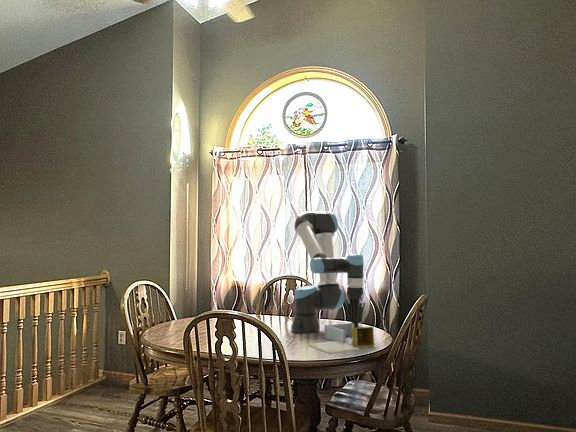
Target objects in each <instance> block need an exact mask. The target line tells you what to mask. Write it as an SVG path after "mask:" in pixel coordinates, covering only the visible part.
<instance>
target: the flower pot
mask: <svg viewBox="0 0 576 432" xmlns="http://www.w3.org/2000/svg"><path fill="white" fill-rule="evenodd" d="M357 331H358V332H357ZM360 334H361V336H360ZM374 335H375V334H374V326H364V327H360V328H352V336H351V339H352V342H351V343H352V346H354V347H357V348H366V347H367V348H368V347H374V346H375V339H374V337H375V336H374Z"/></svg>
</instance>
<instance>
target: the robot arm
mask: <svg viewBox="0 0 576 432" xmlns="http://www.w3.org/2000/svg"><path fill="white" fill-rule="evenodd" d="M338 226H339V223H338V218H337V216H336V214H335V213H334V212H333V211H311V210H310V211H305V212H302V213H300V214H299V215H298V216H297V217H296V219H295V220H294V231H295V233H296V236H298V237H300V239H301V241H302V243H303V245H304V247H305V250H306V251H307V254H308V255H309V258H310V262H309V267H310V268H309V269H310V272H312V273H313V274H319V283H318V284H317V286H315V285H307V286H305V285H304V286H300V287H297V288H296V289H294V295H293V300H294V316H293V320H292V324H291V327H290V331H291V333H295V334H302V335H303V334H305V335H307V334H316V333H319V332H320V330H321V328H320V323H319V319H318V317H317V316H318V315H317V311H334V310H339V309H341V308H342V307H343V305H344V301H345V303H346V310H347V317H348V321H350V323H352V328H358V325H359V323H362V320H363V314H364V309H365V306H366V303H365V302H363V299H362V296H363V295H364V288H363V287H364V256H363V255H362V254H358V253H357V254H356V253H355V254H353V253H351V254H348V255H347V256H341V257H335V255H334V254H335V253H334V245H333V244H334V243H333V237H334V236H335V233H336V232H337V231H338ZM343 273H344V274H347V276H346V277H347V286H348V287H347V288H346V294H347V296H348V299H345V291H344V288H343V287H340V283H339V282H338V281H337V278H336V277H337V275H336V274H343ZM357 332H358V331H357Z"/></svg>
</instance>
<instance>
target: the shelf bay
mask: <svg viewBox="0 0 576 432" xmlns="http://www.w3.org/2000/svg"><path fill="white" fill-rule="evenodd" d="M360 327H365V326H363V325H360V324H358V328H360ZM348 336H351V337H352V322H345V323H336V324H328V325H324V339H327V340H331V341H339V342H342V343H345V344H346V337H348ZM360 336H361V334H360Z"/></svg>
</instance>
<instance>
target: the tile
mask: <svg viewBox="0 0 576 432" xmlns="http://www.w3.org/2000/svg"><path fill="white" fill-rule="evenodd" d="M307 346H308V347H311V348H314V349H315V350H319V351H321V352H324V353H327V354H335V353H336V354H337V353H343V352H344V353H345V352H351V351H359V350H360V347H356V346H355V345H351V344H348V343H346V342H345V343H342V342H339V341H333V340H331V341H324V342H315V343H308V344H307Z"/></svg>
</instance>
